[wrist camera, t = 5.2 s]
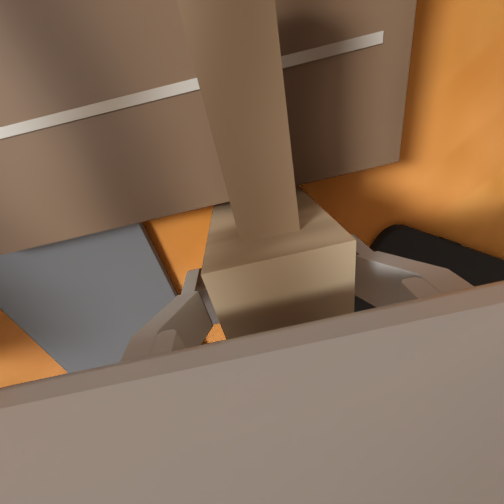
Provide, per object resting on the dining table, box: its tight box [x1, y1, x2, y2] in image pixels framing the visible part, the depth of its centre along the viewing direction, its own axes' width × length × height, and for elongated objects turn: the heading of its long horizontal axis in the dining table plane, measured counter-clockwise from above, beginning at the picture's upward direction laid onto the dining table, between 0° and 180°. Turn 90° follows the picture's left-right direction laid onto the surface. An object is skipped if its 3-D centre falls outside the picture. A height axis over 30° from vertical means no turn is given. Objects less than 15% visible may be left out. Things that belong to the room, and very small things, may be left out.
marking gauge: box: [177, 0, 356, 339], centre depth 8 cm, size 4×11×6 cm, turn 12°
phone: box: [354, 225, 504, 312], centre depth 17 cm, size 7×1×15 cm
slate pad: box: [0, 222, 202, 373], centre depth 15 cm, size 10×11×1 cm
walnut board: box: [0, 0, 417, 255], centre depth 8 cm, size 20×9×3 cm, turn 102°
